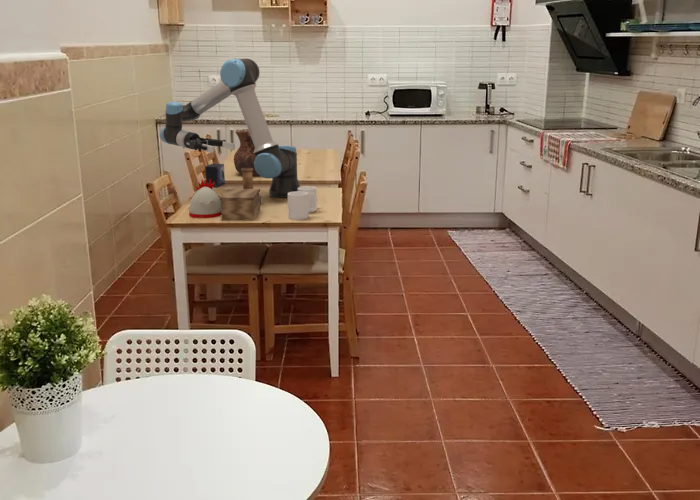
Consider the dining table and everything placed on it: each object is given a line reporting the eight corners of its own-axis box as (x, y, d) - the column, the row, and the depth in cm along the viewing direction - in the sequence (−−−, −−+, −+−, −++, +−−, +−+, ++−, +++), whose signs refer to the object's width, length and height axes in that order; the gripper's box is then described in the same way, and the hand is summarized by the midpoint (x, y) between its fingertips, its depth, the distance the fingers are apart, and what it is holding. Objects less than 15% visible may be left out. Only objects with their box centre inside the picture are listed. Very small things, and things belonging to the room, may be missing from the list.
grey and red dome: (225, 216, 286) (223, 180, 282) (191, 219, 281) (189, 183, 277) (220, 209, 298) (218, 175, 294) (187, 212, 294) (185, 177, 290)
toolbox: (265, 202, 311) (264, 182, 309) (254, 219, 279) (253, 197, 277) (235, 202, 311) (234, 182, 309) (220, 220, 279) (219, 197, 277)
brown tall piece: (255, 203, 310) (253, 167, 306) (253, 205, 305) (252, 169, 301) (243, 203, 310) (242, 167, 306) (242, 205, 305) (240, 169, 301)
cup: (319, 218, 280) (318, 194, 278) (289, 220, 278) (288, 195, 275) (316, 214, 288) (315, 190, 285) (287, 215, 286) (286, 191, 283)
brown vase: (226, 174, 384) (224, 128, 377) (258, 170, 397) (255, 125, 390) (250, 179, 368) (247, 132, 361) (281, 174, 382) (279, 128, 375)
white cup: (301, 214, 289) (301, 190, 286) (295, 210, 296) (294, 187, 293) (319, 212, 292) (319, 188, 289) (312, 208, 299) (312, 185, 296)
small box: (218, 187, 347) (216, 166, 345) (205, 187, 349) (204, 166, 346) (225, 183, 357) (224, 163, 354) (213, 183, 359) (212, 163, 356)
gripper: (207, 145, 332) (241, 153, 322) (168, 150, 311) (204, 159, 301) (207, 129, 329) (242, 137, 319) (169, 134, 309) (204, 142, 299)
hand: (224, 148), depth 310 cm, fingers open, 13 cm apart
